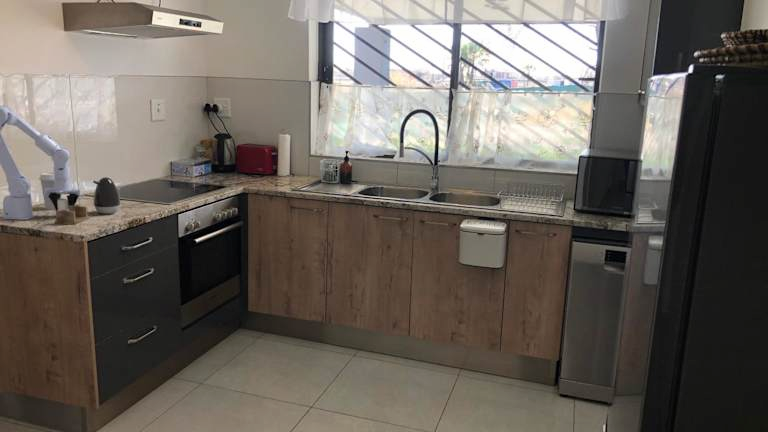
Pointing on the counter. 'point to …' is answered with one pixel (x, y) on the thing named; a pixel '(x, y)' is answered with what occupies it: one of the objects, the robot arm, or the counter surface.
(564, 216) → the counter surface
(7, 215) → the robot arm
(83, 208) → the holder
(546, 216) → the counter surface
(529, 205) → the counter surface
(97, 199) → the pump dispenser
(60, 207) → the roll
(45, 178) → the coffee cup
